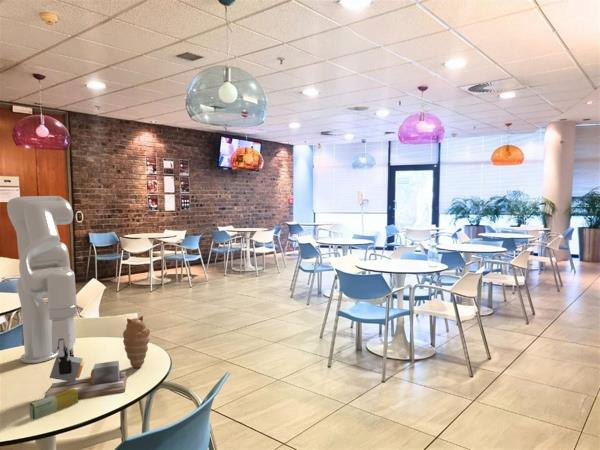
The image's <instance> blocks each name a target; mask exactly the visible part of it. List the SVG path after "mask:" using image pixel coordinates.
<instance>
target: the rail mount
mask: <svg viewBox="0 0 600 450" xmlns="http://www.w3.org/2000/svg"><path fill="white" fill-rule="evenodd" d="M127 380H128V372H126V371H121V372H120V362H119V360H113V361H105V362H99V363H94V365H93V367H92V369H91V372H90V376H84V377H79V378H76V380H75V382H71V381H65V380H57V381H52V382H51V385H50V387H49V389H48V391H47V392H46V393H45V397H44V398H43V399H45V398H48V397H51V396H53V395H56V394H59V393H62V392H65V391H68V390H71V389H76V390H77V391H78V400H80V399H85V398H86V399H87V398H93V397H98V396H99V397H100V396H105V395H106V396H107V395H112V394H113V395H114V394H119V393H125V392H126V388H127V387H126V386H127Z"/></svg>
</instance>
